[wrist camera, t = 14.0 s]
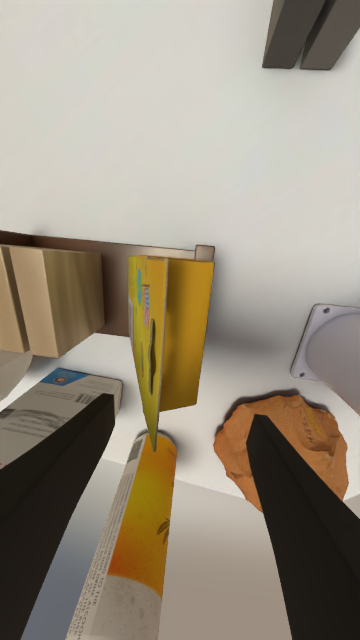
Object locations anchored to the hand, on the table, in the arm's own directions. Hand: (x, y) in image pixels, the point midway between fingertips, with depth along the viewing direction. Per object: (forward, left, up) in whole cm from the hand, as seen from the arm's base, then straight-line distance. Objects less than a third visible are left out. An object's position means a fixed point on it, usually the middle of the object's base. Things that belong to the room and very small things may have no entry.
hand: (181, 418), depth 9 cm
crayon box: (+5, -4, -9) cm, 11 cm away
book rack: (+8, -4, -10) cm, 14 cm away
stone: (-11, +14, -12) cm, 21 cm away
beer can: (+3, +17, -11) cm, 20 cm away
